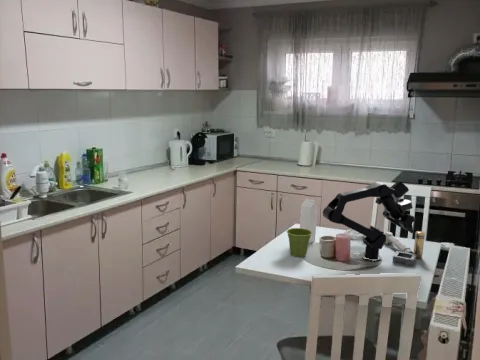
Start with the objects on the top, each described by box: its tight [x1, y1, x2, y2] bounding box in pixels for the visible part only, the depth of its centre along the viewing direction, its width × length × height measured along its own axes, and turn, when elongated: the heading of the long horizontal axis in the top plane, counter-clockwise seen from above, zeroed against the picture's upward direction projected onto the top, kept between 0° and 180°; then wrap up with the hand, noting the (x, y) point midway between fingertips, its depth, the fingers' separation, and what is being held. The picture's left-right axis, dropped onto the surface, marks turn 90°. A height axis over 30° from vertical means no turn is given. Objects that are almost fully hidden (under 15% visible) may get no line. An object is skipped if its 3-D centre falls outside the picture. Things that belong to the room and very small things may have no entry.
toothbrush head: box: [384, 231, 414, 254], centre depth 233 cm, size 5×7×25 cm
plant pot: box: [286, 227, 312, 258], centre depth 219 cm, size 12×12×11 cm
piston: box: [412, 230, 426, 260], centre depth 221 cm, size 4×4×12 cm
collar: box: [392, 250, 417, 267], centre depth 216 cm, size 9×9×3 cm
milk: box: [299, 197, 318, 245], centre depth 239 cm, size 6×6×22 cm
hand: (407, 229), depth 220 cm, fingers open, 9 cm apart
